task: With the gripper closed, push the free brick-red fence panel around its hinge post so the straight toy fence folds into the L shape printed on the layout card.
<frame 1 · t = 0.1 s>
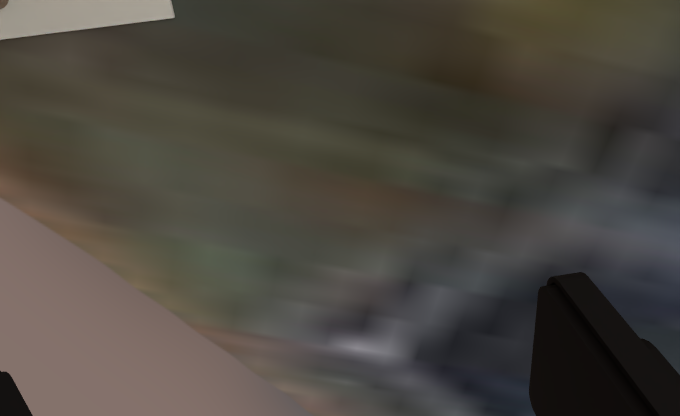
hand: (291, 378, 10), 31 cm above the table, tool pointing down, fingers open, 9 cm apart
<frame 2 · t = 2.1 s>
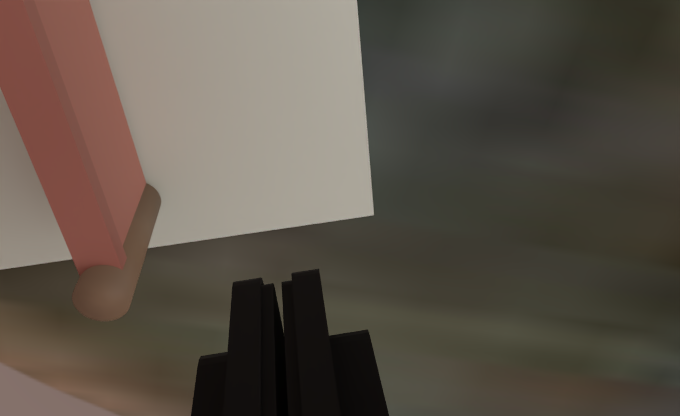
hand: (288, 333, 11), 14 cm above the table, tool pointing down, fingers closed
fence panel: (84, 136, 19), point 4 cm above the table, hinge at 0.0°
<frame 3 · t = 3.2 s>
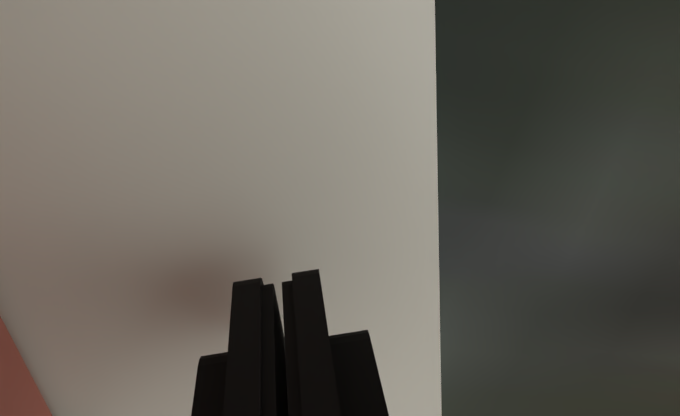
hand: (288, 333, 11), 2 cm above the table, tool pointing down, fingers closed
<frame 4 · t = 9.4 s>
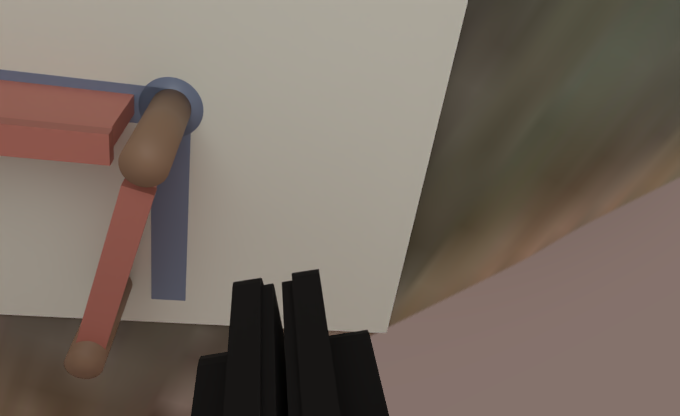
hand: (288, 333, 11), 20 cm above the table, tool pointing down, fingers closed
layout card: (171, 141, 30), on the table
fence fixed: (172, 105, 29), resting on layout card
fence panel: (121, 255, 29), point 4 cm above the table, hinge at 104.9°
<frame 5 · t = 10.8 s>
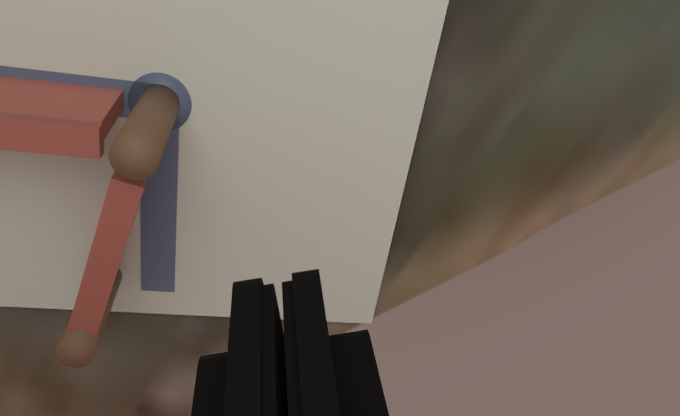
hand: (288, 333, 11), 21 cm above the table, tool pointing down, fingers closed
layout card: (160, 135, 31), on the table
fence fixed: (161, 100, 30), resting on layout card
fence panel: (111, 246, 29), point 4 cm above the table, hinge at 104.9°
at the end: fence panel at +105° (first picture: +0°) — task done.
